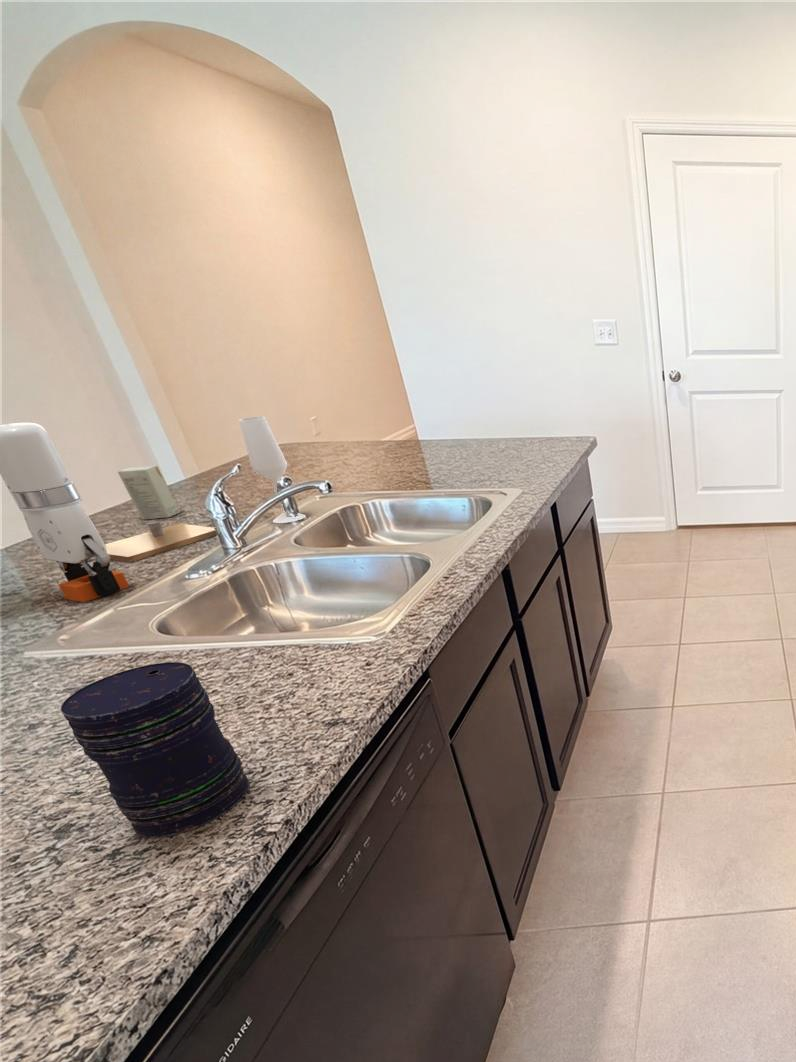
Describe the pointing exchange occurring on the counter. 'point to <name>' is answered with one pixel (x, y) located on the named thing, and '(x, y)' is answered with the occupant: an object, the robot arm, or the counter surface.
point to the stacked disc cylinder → (158, 747)
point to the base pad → (157, 541)
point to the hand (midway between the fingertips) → (97, 590)
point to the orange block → (87, 587)
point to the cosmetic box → (149, 492)
